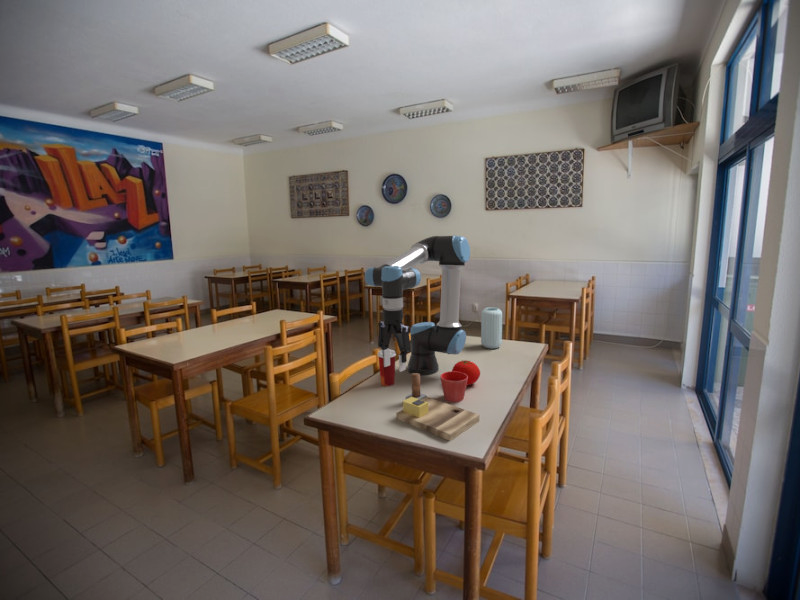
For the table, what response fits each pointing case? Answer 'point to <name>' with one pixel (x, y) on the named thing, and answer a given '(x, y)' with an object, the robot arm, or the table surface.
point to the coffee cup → (387, 369)
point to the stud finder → (415, 407)
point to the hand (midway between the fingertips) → (394, 368)
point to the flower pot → (454, 385)
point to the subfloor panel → (441, 419)
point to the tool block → (418, 397)
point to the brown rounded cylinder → (415, 385)
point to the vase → (491, 327)
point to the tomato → (468, 370)
